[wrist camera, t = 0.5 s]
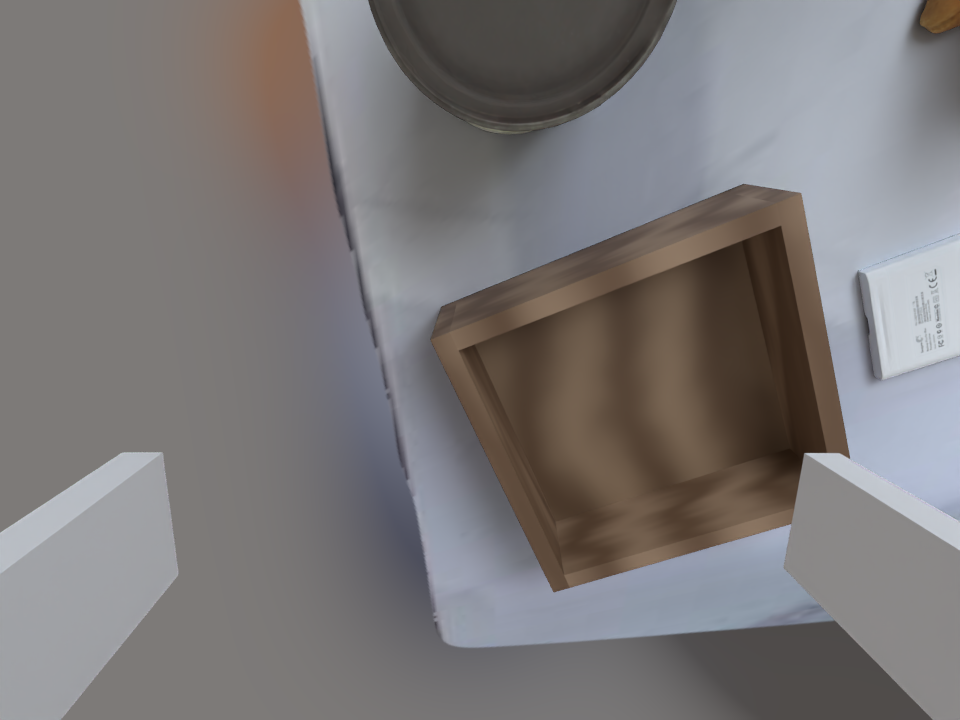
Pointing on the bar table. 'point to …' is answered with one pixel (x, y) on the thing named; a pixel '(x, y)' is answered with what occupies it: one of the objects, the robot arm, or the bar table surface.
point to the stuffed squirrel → (940, 15)
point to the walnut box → (652, 385)
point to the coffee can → (520, 54)
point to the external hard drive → (913, 308)
